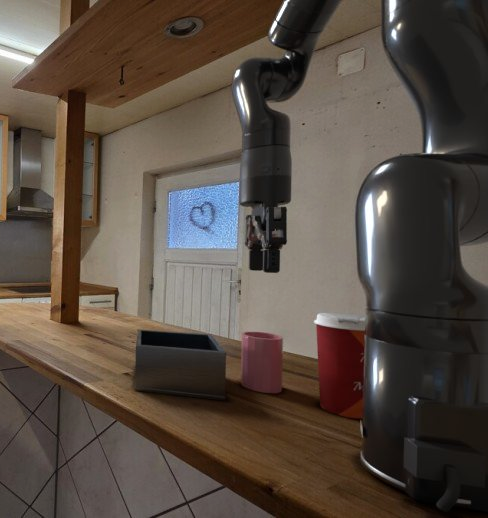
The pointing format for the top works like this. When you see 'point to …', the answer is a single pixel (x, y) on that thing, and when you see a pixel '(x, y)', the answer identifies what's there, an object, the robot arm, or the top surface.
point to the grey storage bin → (180, 364)
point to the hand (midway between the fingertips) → (263, 271)
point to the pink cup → (262, 362)
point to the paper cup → (341, 362)
